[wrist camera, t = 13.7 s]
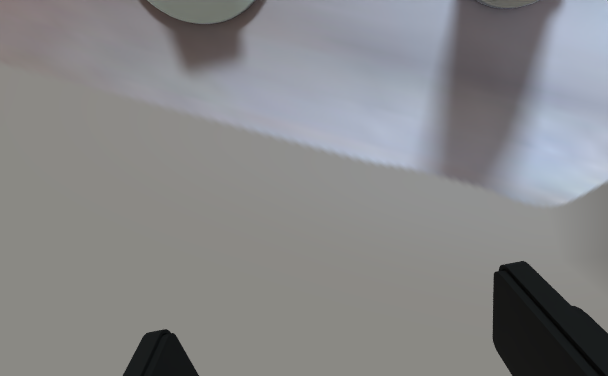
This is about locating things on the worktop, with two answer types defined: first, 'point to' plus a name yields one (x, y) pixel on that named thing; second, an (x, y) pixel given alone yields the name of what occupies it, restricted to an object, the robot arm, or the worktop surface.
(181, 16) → the dish
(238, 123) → the worktop surface
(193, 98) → the worktop surface
